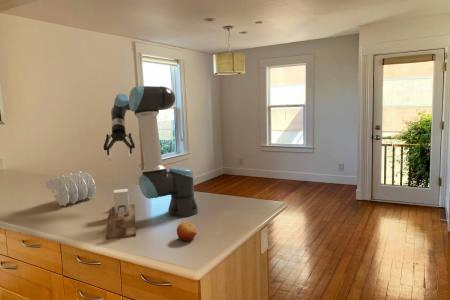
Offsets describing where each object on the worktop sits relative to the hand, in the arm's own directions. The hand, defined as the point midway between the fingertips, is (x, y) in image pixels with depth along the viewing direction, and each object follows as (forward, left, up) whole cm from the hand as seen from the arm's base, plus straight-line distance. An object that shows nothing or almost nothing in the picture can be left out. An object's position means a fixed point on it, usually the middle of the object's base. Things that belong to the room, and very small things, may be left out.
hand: (119, 158), depth 186 cm
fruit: (-26, +60, -27) cm, 71 cm away
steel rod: (0, +27, -23) cm, 36 cm away
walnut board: (0, +26, -27) cm, 37 cm away
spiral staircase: (+28, -20, -27) cm, 44 cm away
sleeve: (0, +20, -25) cm, 32 cm away
